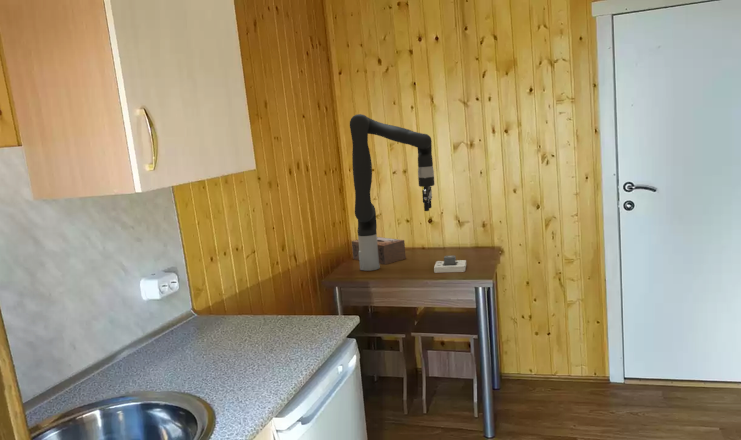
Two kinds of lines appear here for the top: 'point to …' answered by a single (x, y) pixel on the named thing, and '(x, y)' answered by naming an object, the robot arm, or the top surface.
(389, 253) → the tissue box cover
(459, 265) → the outlet plate
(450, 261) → the block
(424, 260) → the top surface
